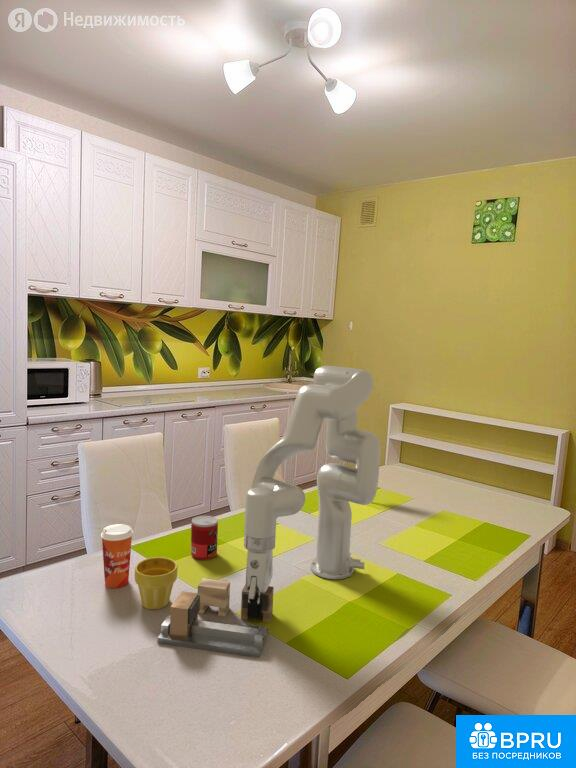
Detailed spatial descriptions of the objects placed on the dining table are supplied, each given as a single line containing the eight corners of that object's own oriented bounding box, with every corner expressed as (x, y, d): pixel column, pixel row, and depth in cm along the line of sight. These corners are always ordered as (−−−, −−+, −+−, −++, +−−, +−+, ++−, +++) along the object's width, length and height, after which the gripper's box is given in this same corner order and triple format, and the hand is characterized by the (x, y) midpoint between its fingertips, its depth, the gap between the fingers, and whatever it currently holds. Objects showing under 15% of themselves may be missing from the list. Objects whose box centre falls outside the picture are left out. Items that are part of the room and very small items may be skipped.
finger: (244, 610, 132) (245, 583, 132) (272, 613, 131) (273, 586, 131) (240, 620, 128) (241, 592, 127) (268, 623, 127) (269, 596, 126)
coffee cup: (103, 592, 138) (103, 537, 136) (98, 578, 145) (98, 525, 143) (136, 586, 141) (136, 532, 140) (130, 573, 149) (130, 521, 147)
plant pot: (178, 611, 131) (179, 573, 129) (134, 616, 128) (135, 577, 126) (175, 590, 140) (175, 554, 139) (134, 594, 137) (134, 558, 136)
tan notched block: (203, 603, 135) (203, 576, 134) (229, 606, 134) (230, 580, 133) (197, 612, 130) (197, 585, 129) (224, 616, 129) (225, 589, 128)
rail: (267, 633, 123) (268, 600, 122) (259, 657, 114) (260, 621, 113) (172, 620, 127) (173, 587, 126) (157, 642, 118) (157, 607, 117)
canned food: (212, 562, 157) (213, 526, 156) (186, 558, 159) (187, 523, 158) (220, 551, 165) (221, 517, 164) (196, 548, 166) (196, 514, 165)
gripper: (267, 557, 119) (264, 633, 121) (281, 528, 135) (278, 595, 138) (235, 553, 120) (232, 628, 122) (252, 525, 137) (250, 591, 139)
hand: (257, 610), depth 130 cm, fingers open, 5 cm apart
